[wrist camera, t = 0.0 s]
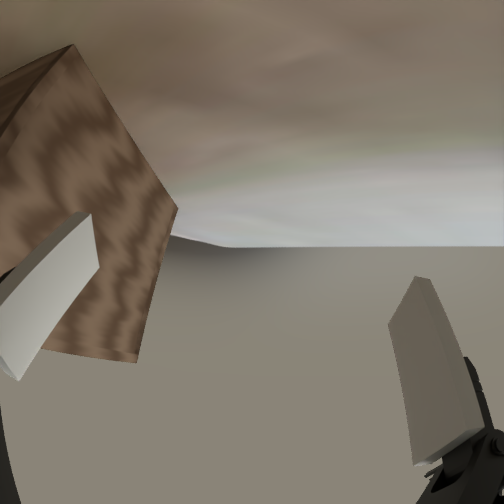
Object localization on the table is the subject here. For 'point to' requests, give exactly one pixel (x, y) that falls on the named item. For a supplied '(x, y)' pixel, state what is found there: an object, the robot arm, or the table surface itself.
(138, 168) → the walnut box
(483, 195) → the table surface
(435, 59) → the table surface
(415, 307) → the robot arm
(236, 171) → the table surface
